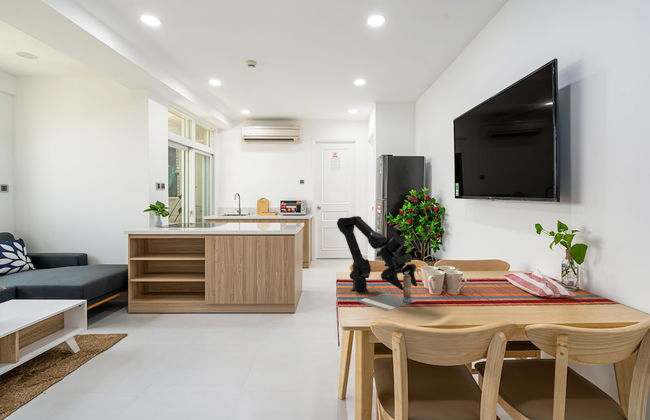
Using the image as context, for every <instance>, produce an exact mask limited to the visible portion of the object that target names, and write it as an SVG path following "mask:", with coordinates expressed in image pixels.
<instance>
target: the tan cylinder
mask: <svg viewBox="0 0 650 420" xmlns="http://www.w3.org/2000/svg"><path fill="white" fill-rule="evenodd" d="M402 278H403V279H402V281H403V282H402V286H403V288H404V289H403V290H402V294H403V295H402V297H403V302H404V303H410V304H412V303H411V300H412V285H411V284H412V283H411V276H410V274H405V275H403V276H402Z"/></svg>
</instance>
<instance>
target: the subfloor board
mask: <svg viewBox="0 0 650 420" xmlns="http://www.w3.org/2000/svg"><path fill="white" fill-rule="evenodd" d="M356 302H358V303H361V304H364V305H367V306H370V307H373V308H377V309H380V310H383V311H386V312H388V311H391V310H394V309H397V308H401V307H402V306H407V305H409V304H412V303H415V302H417V300H414V299H411V303H404V302H403V296H399V295H395V294H391V293H386V292H385V293H382V294H377V295H374V296H369V297H366V298H365V297H364V298H362V299H358V300H356Z"/></svg>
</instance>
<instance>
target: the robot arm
mask: <svg viewBox="0 0 650 420" xmlns="http://www.w3.org/2000/svg"><path fill="white" fill-rule="evenodd" d="M336 226H337V228H338V231H339V232H340V233H341V234H342V235H344V237H345V240H346V241H345V242H346V243H347V246H348V249H349V252H350V254H351V258H352V271H351V272H350V274H349V279H350V280H352V288H351V289H352V290H353V291H352V290H351V291H352V292H355V291H357V292H356V293H358V292H361V293H364V292H363V291H365V292H368V291H369V289H368V288H367V287H368V284H367V279H369V278H370V274H371V272H372V266H371V264H370V261H369V259H368V258H367V259H365V258H364V257H363V254H362V252H361V248H360V245H359V243H358V241H357V237H356V236H355V233H354V230H355V228H357V230H359V231H360V233H362V234H363V235H364V236H365V238H367V242H368V244H369V245H370V247H371V248H372V249H374V250H377V251H376V255H375V256H376V258H380V257H381V258H382V260H383V262H384V263H385V264H384V267H385V269H384V270H383V271H382V273H380V279H382V281H385V282H387V283H389V284H391V285H393V286H394V287H396V288H397V289H399V290H401V291H403V289H404V288H403V283H402V282H401V281H400V279H399V278H398V274H399V275H400V274H402V275H403V276H405V274H410V276H411V284H412V286H414V287H415V288H416V287H417V286H418V284H417V280H416V277H415V271H416V270H417V265H416V264H415V263H411V262H412V260H413V256H412V255H411V254H410V253H406V254H404V255H401V256H399V255H396V254H395V253H397V252H398V251H399V250H400V249H401V248H402V247H403V246H405V242H406V241H405V240H404V238H403V237H402V236H400V235H398V234H397V233H395V232H394V233H391V235H390V237H389V238H387V237H386V236H385V235H383V234H381V233H379V232H377V231H376V230H374V229H373V228H372V227H371V226H369V224H368V223H367V222H365V221H364V220H363V219H362V217H361V216H359V215H358V216H357V215H353V216H351V217H340V218H338V219H337V221H336ZM379 249H380V250H379ZM367 290H368V291H367Z"/></svg>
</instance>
